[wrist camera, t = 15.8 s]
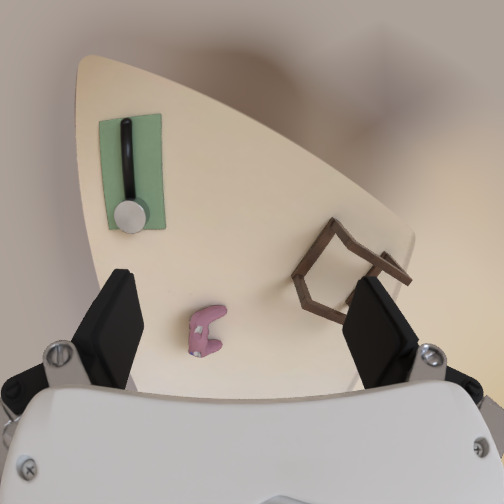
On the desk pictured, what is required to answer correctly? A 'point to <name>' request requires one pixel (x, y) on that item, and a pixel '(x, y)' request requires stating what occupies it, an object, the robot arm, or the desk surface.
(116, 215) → the grey saucepan
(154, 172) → the mat
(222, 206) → the desk surface
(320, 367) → the desk surface
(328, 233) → the rack
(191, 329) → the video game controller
